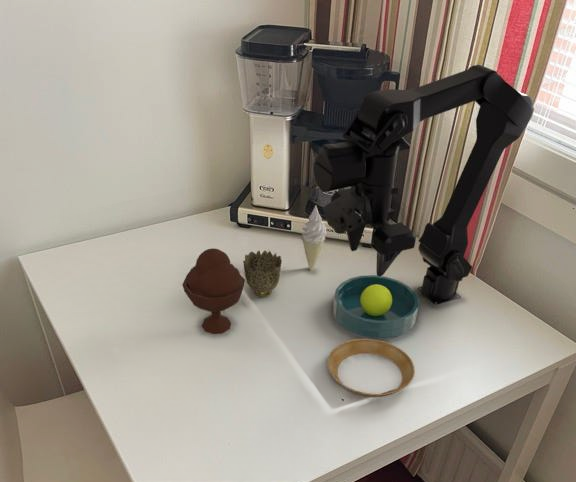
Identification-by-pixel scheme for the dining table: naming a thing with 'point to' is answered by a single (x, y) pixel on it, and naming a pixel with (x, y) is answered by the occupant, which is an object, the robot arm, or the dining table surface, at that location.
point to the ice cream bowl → (214, 288)
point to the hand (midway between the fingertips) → (366, 262)
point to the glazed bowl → (375, 326)
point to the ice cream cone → (313, 237)
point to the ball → (376, 300)
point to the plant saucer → (378, 349)
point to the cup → (262, 272)
